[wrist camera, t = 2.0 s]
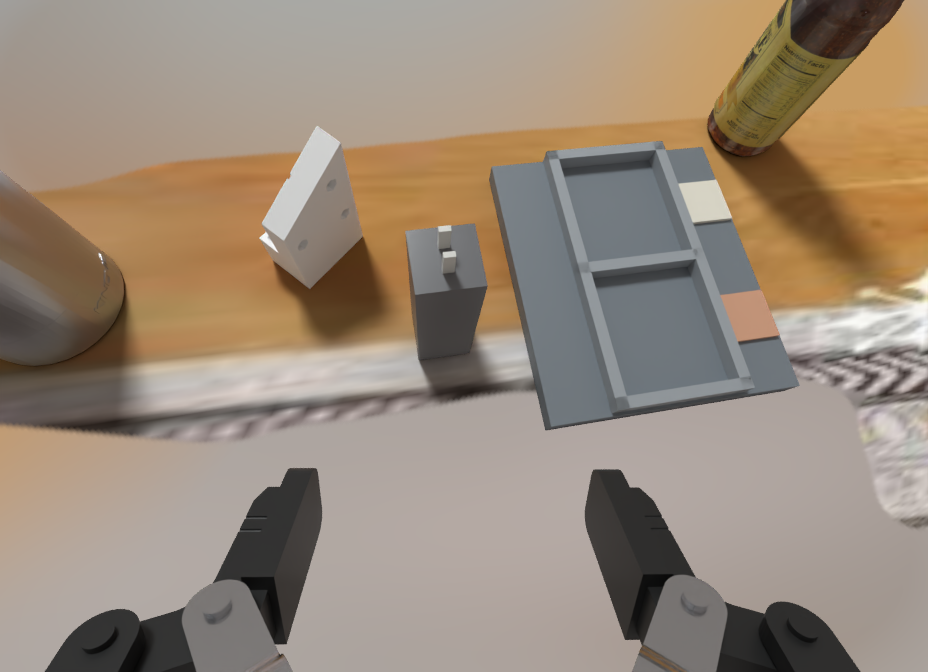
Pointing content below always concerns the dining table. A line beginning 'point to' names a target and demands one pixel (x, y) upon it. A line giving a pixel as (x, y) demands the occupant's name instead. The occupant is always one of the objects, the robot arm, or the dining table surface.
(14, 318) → the robot arm
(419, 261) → the plug
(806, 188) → the dining table surface
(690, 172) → the grey tray
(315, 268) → the white wedge bracket
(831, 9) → the sauce bottle
